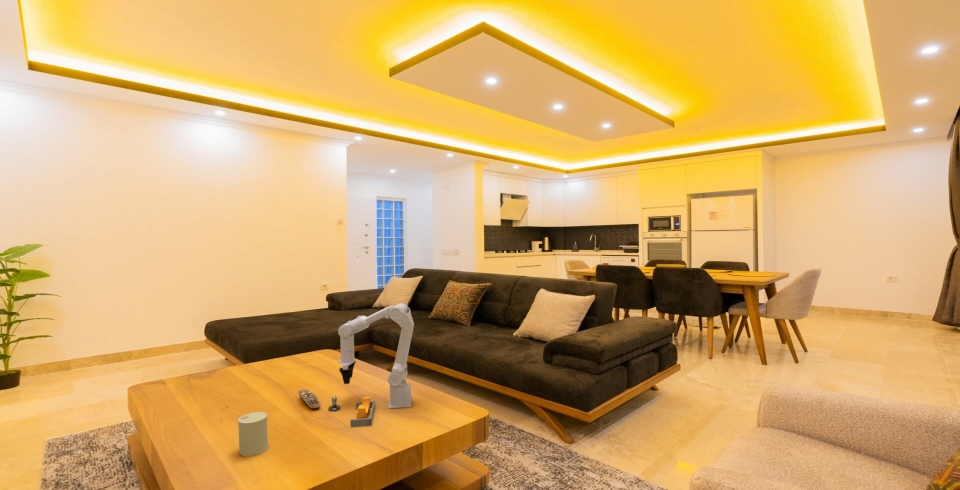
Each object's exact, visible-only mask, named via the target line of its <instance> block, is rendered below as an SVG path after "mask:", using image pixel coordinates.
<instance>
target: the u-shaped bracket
mask: <svg viewBox="0 0 960 490" xmlns="http://www.w3.org/2000/svg"><path fill="white" fill-rule="evenodd" d="M359 405H363V401H359V402H356V403H355V409H356V410H358V407H359ZM375 409H376V401H370V413H369V416H368V418H365V419H358V418H354V419H350V421H349V422H350V428H354V427H355V428H356V427H367V426H372V424H373V418H374V414H375Z"/></svg>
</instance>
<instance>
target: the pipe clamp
mask: <svg viewBox="0 0 960 490" xmlns="http://www.w3.org/2000/svg"><path fill="white" fill-rule="evenodd" d="M362 402H363V405H359V407H358V409H356V415H355V417H356V418H355V419H365V418H369V416H370V412H371V408H370V402H371V397H370V396H363V397H362Z"/></svg>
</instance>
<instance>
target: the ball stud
mask: <svg viewBox="0 0 960 490" xmlns="http://www.w3.org/2000/svg"><path fill="white" fill-rule="evenodd" d="M330 401H331V405H329V406H328V407H327V409H328V412H337V411H340V410H341V405H340V404H338V397H337V396H336V395H335V396H332V397H331V400H330Z"/></svg>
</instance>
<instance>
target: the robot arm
mask: <svg viewBox="0 0 960 490" xmlns="http://www.w3.org/2000/svg"><path fill="white" fill-rule="evenodd" d="M383 318H385V319H390V320H392V321H393V322H394V323H396V324H398V325H399V327H400V328H401V330H400V336H399V340H398V346H397V348H396V349H397V350H396V355H395V358H394V363H393V366H392V368H391V372H390V374H389V375H388V376H387V383H388V384H389V403H388V409H397V408H398V409H399V408H411V407H412V401H413V396H412V383H407V380H406V379H407V377H408V364H407V362H408V357H409V354H410V353H409V351H410V347H411V342H412V338H413V332H414V327H415V322H414V319H413V317H412V313H411V308H410V307H409V306H408V305H407V304H406V303H405V302H399V303H397V304H393V305H390V306H387V307H385V308H383V309H381V310H379V311H376V312H375V313H372V314H370V315H368V316H366V315H358V316H356V318H355V319H353V320H348V321H347V322H346V323H344V324H342V325H340V326H339V327H338V329H337V332H338V336H339V337H340V338H339V339H340V343H339V344H340V359H339V360H338V361H337V363H338V364H341V365H342V367H339V369H338V370H339V373H340V374H341V377H342V380H343V384H344V385H349V384H350V383H351V379H352V378H353V374H354V368H355V365H356V361H357V360H356V359H355V334H357V333H359V332H361V331H363V330H366V329H367V328H369V326H370V325H371V324H372V323H374V322H376V321H379V320H381V319H383Z"/></svg>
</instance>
